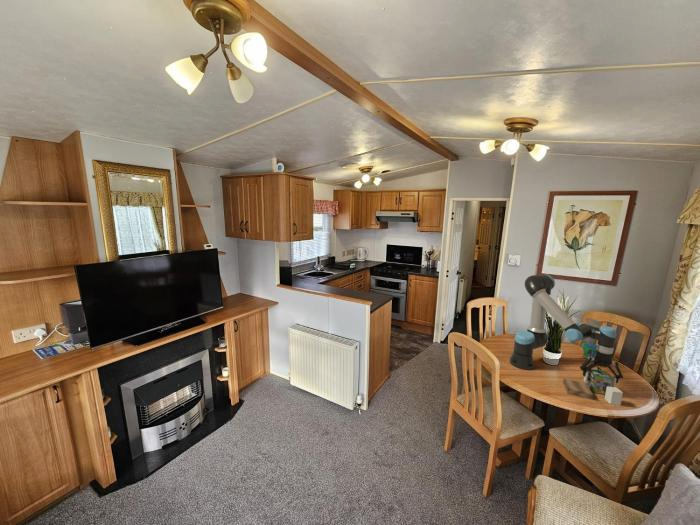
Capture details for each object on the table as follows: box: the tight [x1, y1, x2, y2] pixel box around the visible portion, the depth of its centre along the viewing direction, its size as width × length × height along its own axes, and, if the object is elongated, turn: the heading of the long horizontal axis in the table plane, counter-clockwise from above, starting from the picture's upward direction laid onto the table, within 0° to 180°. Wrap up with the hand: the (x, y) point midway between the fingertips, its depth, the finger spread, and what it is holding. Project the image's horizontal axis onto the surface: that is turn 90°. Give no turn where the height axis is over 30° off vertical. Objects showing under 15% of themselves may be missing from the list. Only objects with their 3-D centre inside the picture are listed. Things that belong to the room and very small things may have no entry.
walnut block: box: [562, 378, 594, 401], centre depth 176 cm, size 12×12×4 cm
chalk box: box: [585, 366, 613, 395], centre depth 177 cm, size 9×9×15 cm
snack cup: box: [581, 342, 597, 362], centre depth 217 cm, size 16×10×10 cm
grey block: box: [604, 386, 624, 406], centre depth 166 cm, size 5×5×8 cm
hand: (598, 384), depth 177 cm, fingers open, 13 cm apart
